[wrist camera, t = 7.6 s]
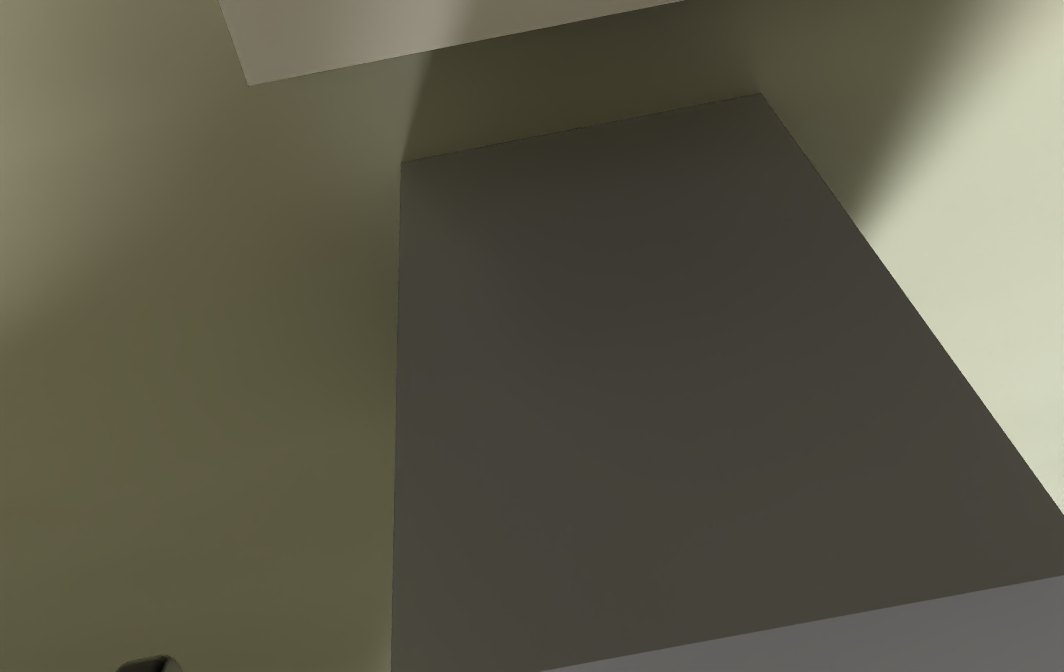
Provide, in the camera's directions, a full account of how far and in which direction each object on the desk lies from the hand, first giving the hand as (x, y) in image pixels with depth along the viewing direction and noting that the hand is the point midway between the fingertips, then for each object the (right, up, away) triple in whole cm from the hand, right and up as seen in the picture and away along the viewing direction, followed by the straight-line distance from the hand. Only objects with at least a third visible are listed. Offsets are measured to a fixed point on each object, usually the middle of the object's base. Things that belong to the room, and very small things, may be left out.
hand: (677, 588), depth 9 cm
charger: (0, +3, +4) cm, 5 cm away
